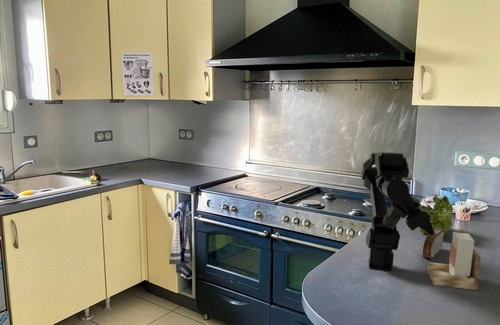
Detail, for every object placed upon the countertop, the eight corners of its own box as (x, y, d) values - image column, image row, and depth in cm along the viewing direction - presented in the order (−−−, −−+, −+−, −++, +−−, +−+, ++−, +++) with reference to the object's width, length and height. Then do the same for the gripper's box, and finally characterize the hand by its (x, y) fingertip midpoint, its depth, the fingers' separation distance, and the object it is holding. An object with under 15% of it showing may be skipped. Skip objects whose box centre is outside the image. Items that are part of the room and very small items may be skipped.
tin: (434, 247, 145) (436, 224, 143) (443, 249, 143) (446, 226, 141) (420, 260, 133) (423, 235, 132) (430, 262, 131) (433, 237, 130)
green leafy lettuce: (471, 230, 149) (443, 203, 145) (434, 252, 156) (406, 227, 152) (456, 202, 165) (431, 177, 161) (423, 223, 172) (398, 199, 168)
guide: (433, 284, 116) (437, 254, 114) (427, 270, 126) (430, 241, 124) (477, 290, 113) (481, 259, 112) (467, 274, 123) (471, 246, 122)
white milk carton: (452, 279, 117) (456, 238, 115) (447, 270, 122) (451, 232, 120) (469, 281, 116) (474, 240, 114) (463, 272, 121) (468, 233, 119)
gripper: (371, 203, 130) (405, 240, 130) (376, 219, 112) (415, 263, 112) (400, 180, 127) (434, 218, 127) (410, 193, 109) (450, 238, 109)
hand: (432, 234), depth 119 cm, fingers closed
